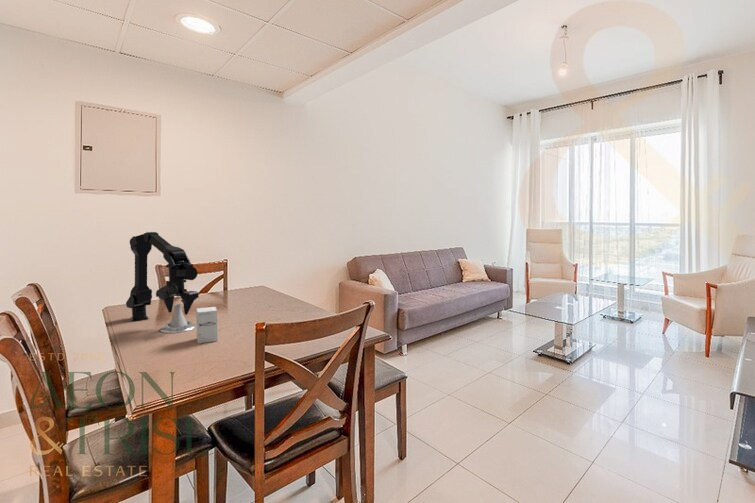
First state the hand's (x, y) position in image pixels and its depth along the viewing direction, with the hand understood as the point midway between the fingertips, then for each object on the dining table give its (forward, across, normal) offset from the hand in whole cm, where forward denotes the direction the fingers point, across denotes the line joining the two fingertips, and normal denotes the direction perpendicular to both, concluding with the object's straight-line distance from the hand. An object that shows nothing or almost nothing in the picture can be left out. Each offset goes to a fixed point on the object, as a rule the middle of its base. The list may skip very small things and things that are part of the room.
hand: (178, 313), depth 163 cm
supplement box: (+7, +23, -7) cm, 25 cm away
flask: (+6, 0, 0) cm, 7 cm away
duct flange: (+7, 0, 0) cm, 7 cm away
